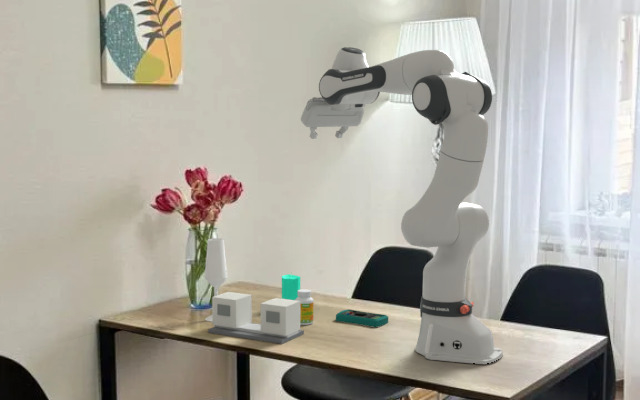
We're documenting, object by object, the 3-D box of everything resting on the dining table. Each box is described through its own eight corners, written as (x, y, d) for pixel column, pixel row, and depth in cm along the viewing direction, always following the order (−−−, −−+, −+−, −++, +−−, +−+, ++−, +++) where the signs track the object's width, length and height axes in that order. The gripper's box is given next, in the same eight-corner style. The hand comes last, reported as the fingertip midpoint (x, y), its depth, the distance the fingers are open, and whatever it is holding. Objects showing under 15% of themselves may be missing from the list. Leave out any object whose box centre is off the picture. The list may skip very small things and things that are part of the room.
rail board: (303, 334, 252) (303, 299, 251) (281, 344, 242) (282, 308, 241) (232, 323, 264) (232, 290, 262) (208, 332, 253) (208, 298, 252)
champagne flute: (211, 322, 264) (211, 242, 261) (200, 318, 269) (200, 239, 267) (231, 319, 268) (231, 240, 265) (220, 315, 273) (220, 237, 271)
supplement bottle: (301, 326, 261) (301, 293, 260) (291, 322, 265) (291, 289, 264) (316, 323, 264) (317, 291, 263) (306, 320, 268) (307, 287, 267)
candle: (279, 307, 284) (279, 270, 282) (297, 306, 285) (297, 269, 284) (284, 312, 278) (284, 273, 277) (302, 311, 280) (303, 273, 278)
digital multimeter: (346, 317, 274) (346, 307, 274) (389, 324, 266) (389, 314, 266) (333, 322, 268) (333, 312, 268) (377, 329, 260) (377, 319, 260)
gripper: (314, 102, 262) (301, 143, 269) (370, 102, 273) (357, 142, 280) (303, 92, 266) (292, 132, 273) (359, 92, 277) (347, 131, 284)
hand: (325, 137), depth 277 cm, fingers open, 8 cm apart
